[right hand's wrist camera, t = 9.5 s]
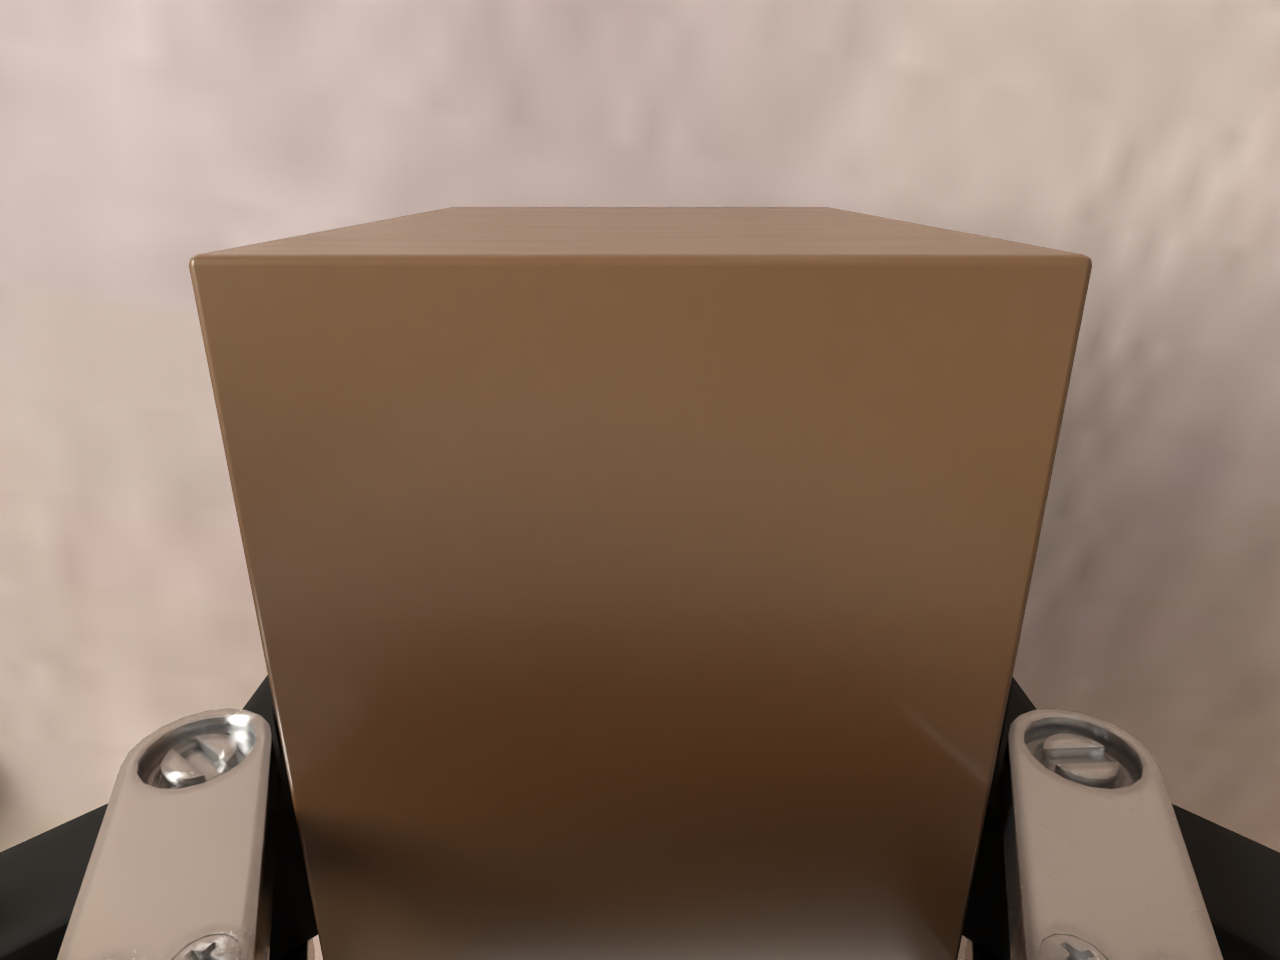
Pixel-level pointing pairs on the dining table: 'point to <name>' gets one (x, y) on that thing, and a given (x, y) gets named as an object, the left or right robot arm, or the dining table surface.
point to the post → (640, 568)
